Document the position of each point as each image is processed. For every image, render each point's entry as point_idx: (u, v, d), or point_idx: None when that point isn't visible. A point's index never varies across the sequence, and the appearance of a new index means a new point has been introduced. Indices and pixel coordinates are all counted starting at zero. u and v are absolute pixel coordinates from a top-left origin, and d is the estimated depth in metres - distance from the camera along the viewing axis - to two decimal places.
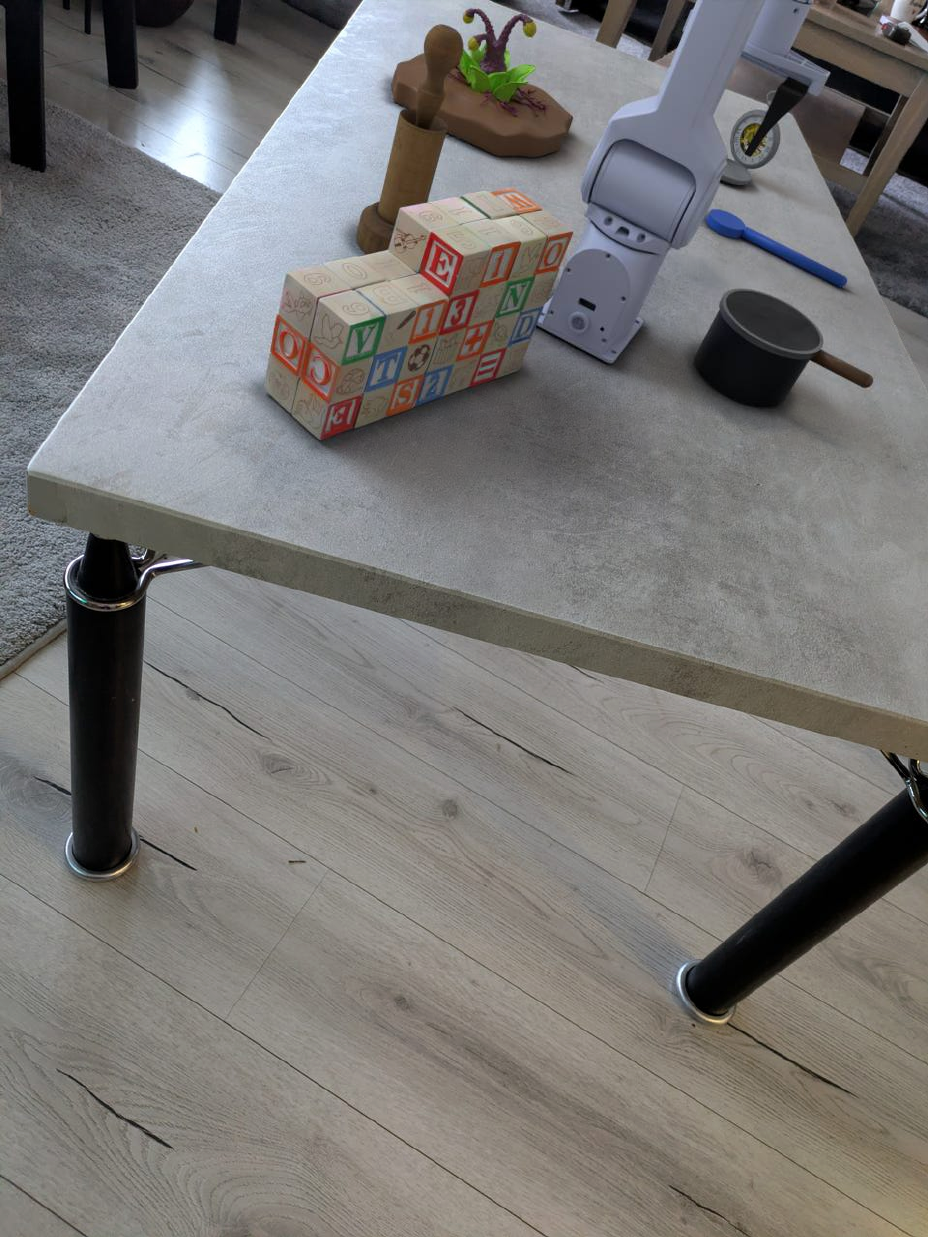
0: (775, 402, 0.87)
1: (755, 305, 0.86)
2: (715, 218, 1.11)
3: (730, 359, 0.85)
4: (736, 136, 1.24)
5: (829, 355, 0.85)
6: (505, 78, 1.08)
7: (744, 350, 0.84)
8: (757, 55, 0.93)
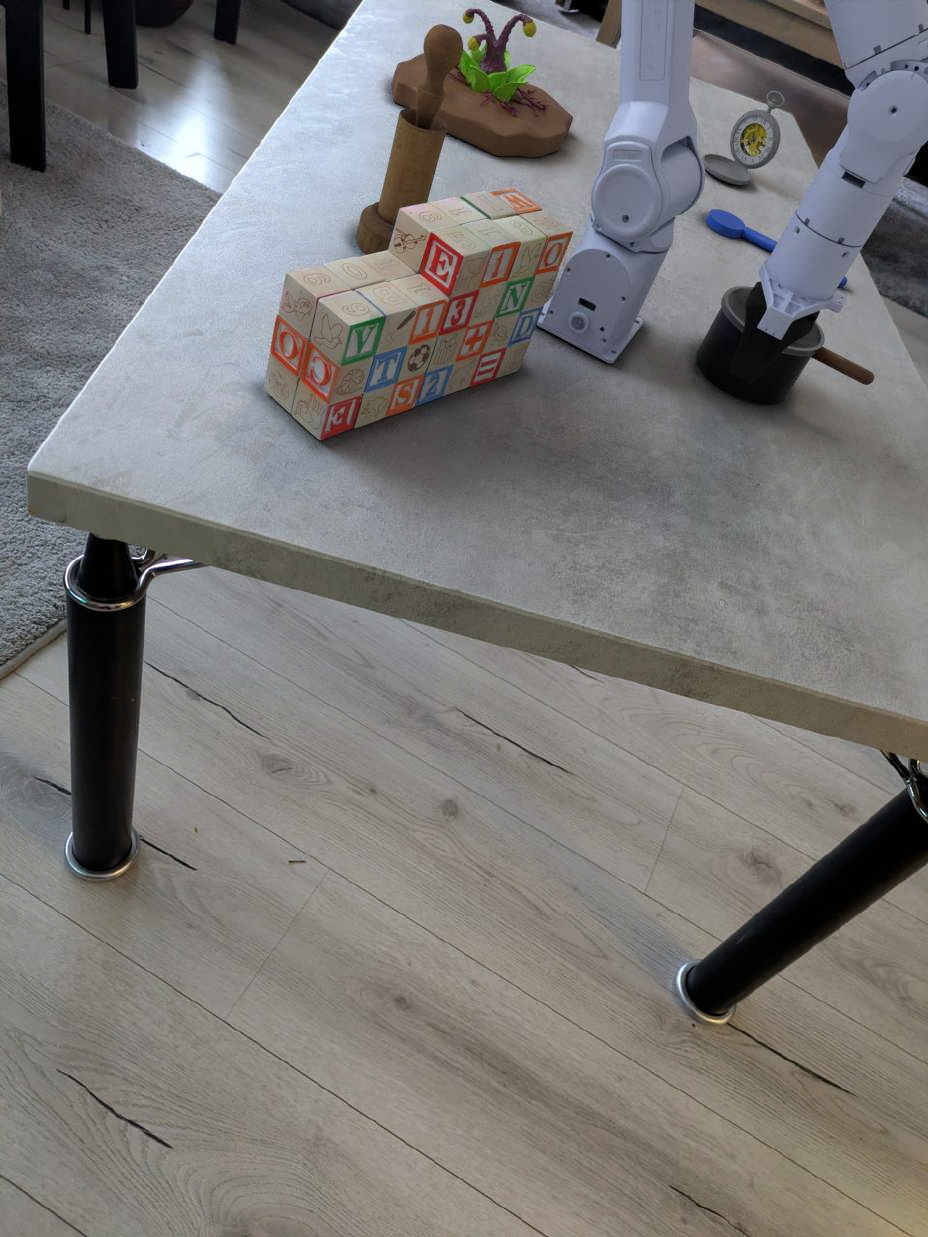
0: (777, 399, 0.88)
1: None
2: (715, 218, 1.11)
3: (732, 356, 0.85)
4: (736, 136, 1.24)
5: (830, 352, 0.86)
6: (505, 78, 1.08)
7: None
8: None
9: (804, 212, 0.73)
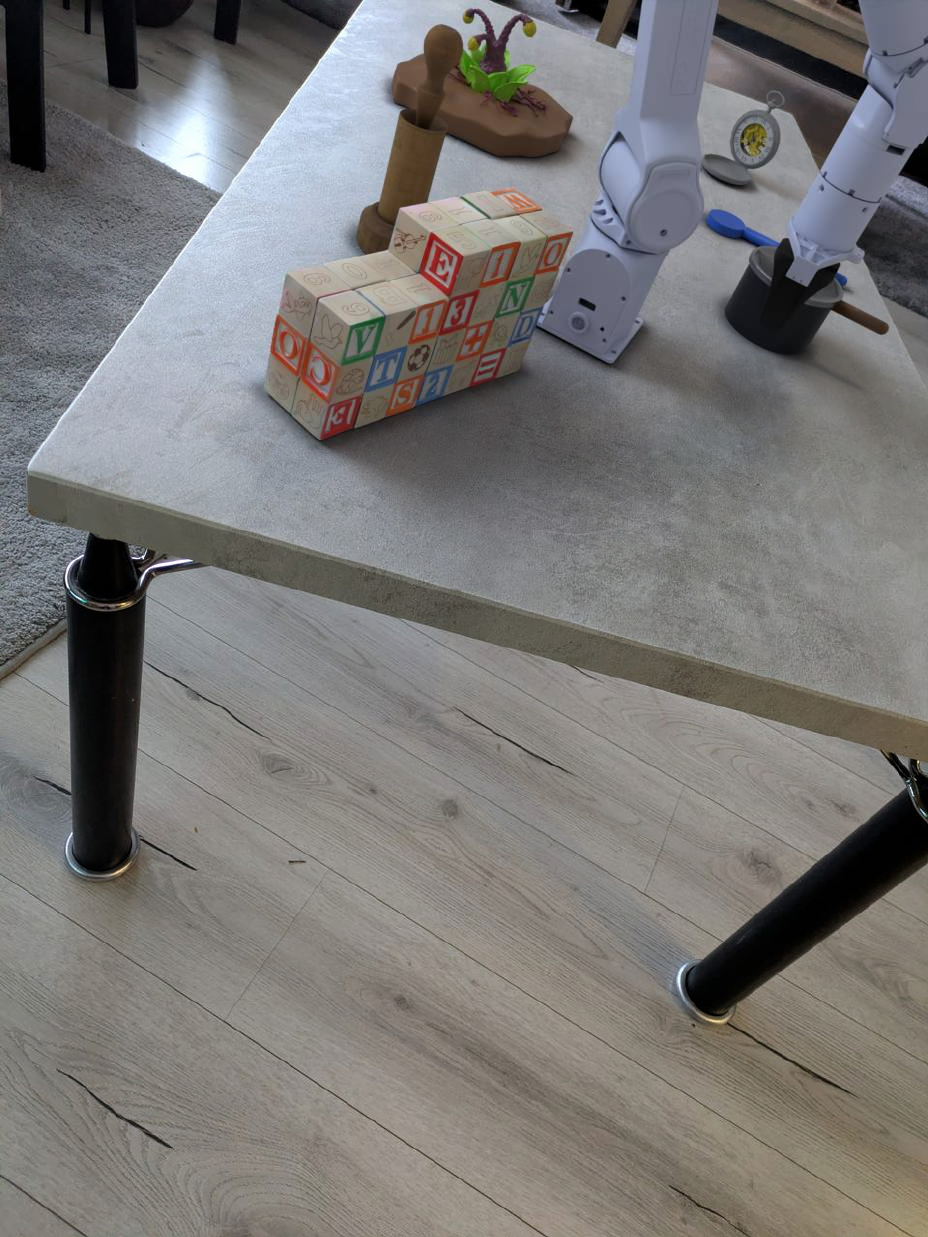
0: (799, 349, 0.96)
1: None
2: (715, 218, 1.11)
3: (759, 308, 0.93)
4: (736, 136, 1.24)
5: (849, 305, 0.94)
6: (505, 78, 1.08)
7: None
8: (786, 226, 0.86)
9: (846, 184, 0.80)
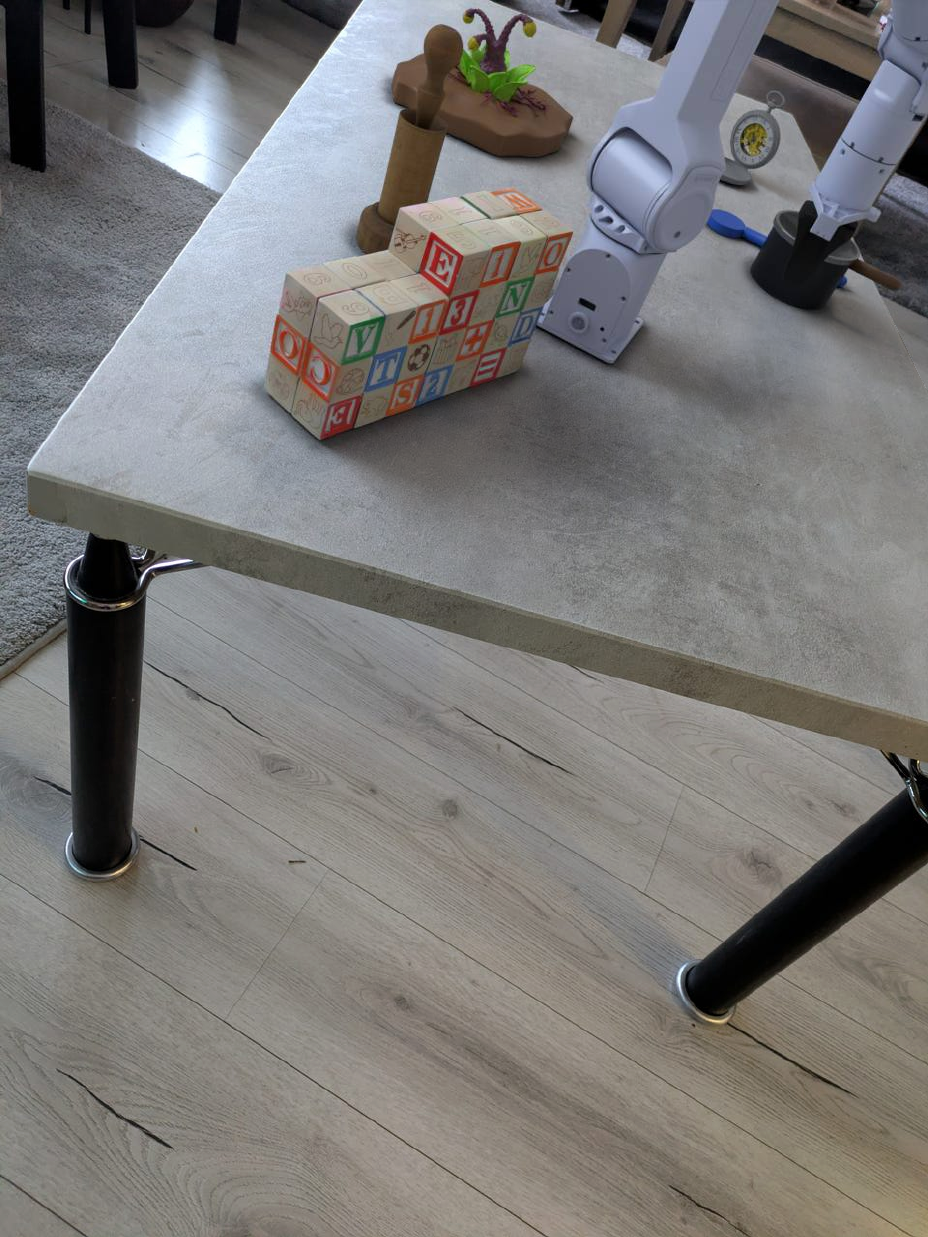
0: (819, 305, 1.04)
1: None
2: (715, 218, 1.11)
3: (783, 266, 1.02)
4: (736, 136, 1.24)
5: (865, 263, 1.02)
6: (505, 78, 1.08)
7: None
8: (809, 188, 0.94)
9: (876, 153, 0.89)
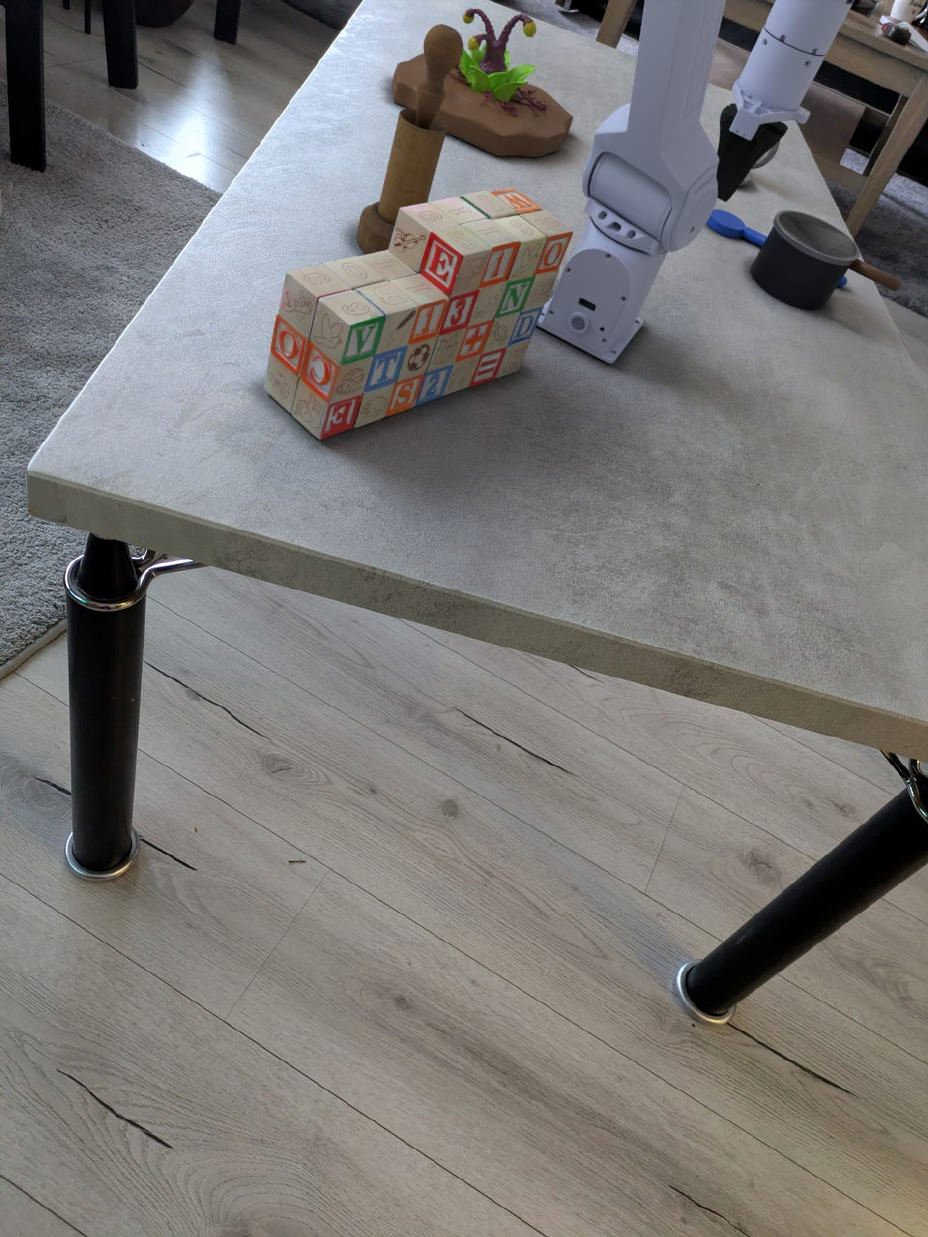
0: (819, 305, 1.04)
1: (803, 223, 1.04)
2: (715, 218, 1.11)
3: (783, 266, 1.02)
4: None
5: (865, 263, 1.02)
6: (505, 78, 1.08)
7: (795, 258, 1.01)
8: (732, 87, 0.86)
9: (809, 44, 0.80)
